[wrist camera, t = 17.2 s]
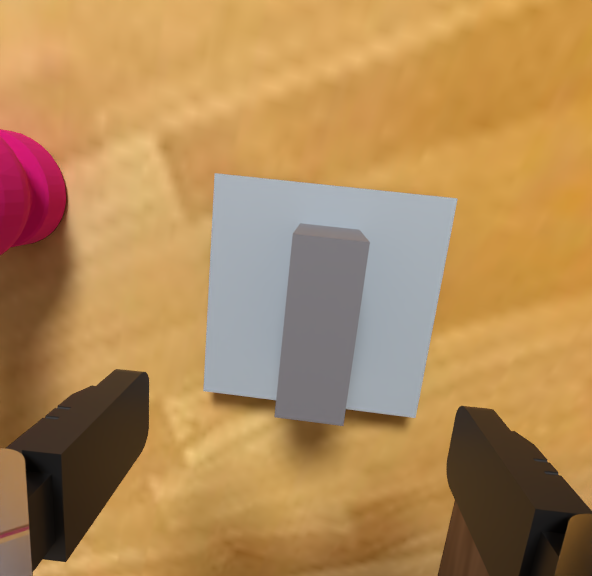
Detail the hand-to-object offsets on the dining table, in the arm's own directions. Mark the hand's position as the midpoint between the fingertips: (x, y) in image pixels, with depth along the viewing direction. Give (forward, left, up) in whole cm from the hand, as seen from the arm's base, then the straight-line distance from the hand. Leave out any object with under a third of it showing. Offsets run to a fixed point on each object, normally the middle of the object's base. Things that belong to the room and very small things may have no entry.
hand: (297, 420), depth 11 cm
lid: (0, 0, -14) cm, 14 cm away
